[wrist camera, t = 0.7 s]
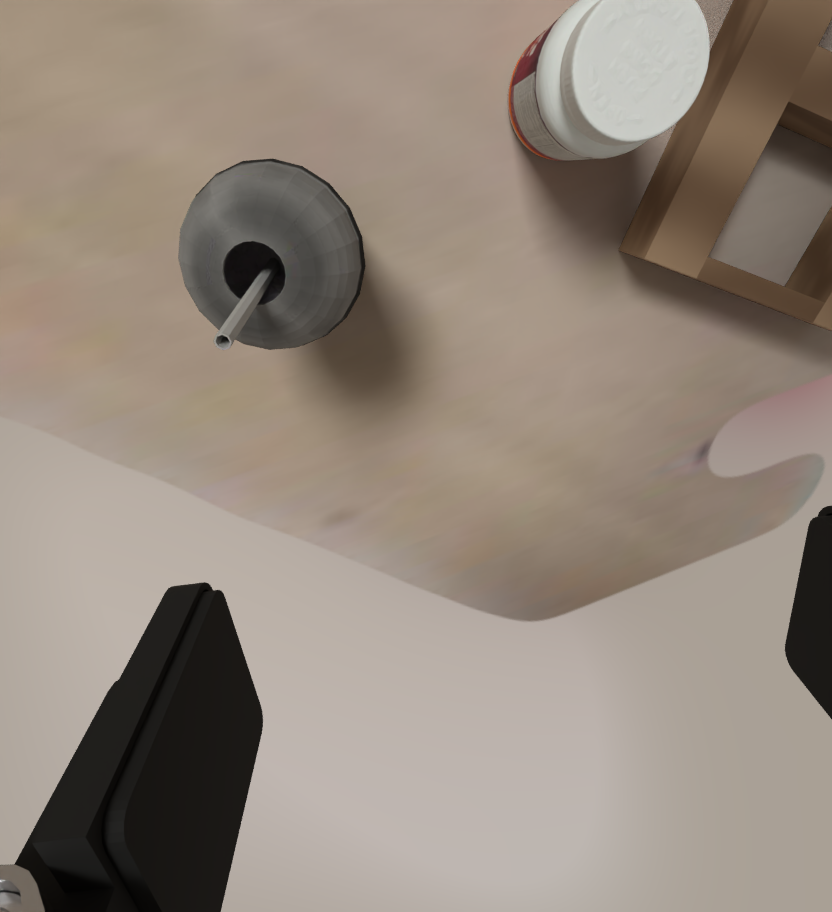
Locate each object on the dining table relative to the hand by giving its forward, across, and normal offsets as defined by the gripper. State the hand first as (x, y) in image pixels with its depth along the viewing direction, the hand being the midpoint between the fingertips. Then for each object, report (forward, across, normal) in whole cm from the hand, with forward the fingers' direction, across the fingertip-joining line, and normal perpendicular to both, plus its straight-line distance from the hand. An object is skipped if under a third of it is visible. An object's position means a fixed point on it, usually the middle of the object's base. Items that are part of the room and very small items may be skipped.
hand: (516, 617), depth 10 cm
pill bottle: (+30, -8, -9) cm, 32 cm away
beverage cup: (+30, +6, -4) cm, 30 cm away
